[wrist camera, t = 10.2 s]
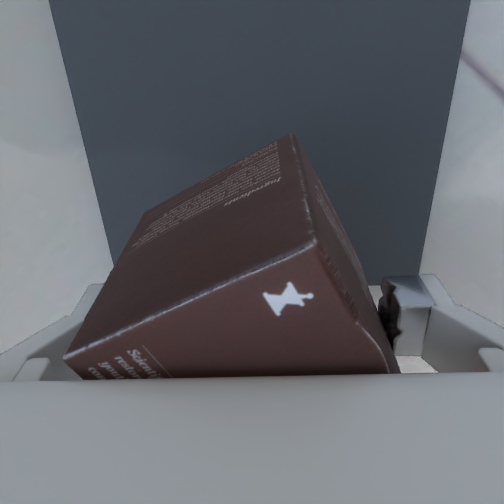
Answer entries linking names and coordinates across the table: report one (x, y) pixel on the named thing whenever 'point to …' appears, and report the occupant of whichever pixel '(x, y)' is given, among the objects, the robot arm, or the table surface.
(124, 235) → the mat
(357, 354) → the box
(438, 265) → the table surface
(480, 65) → the table surface
